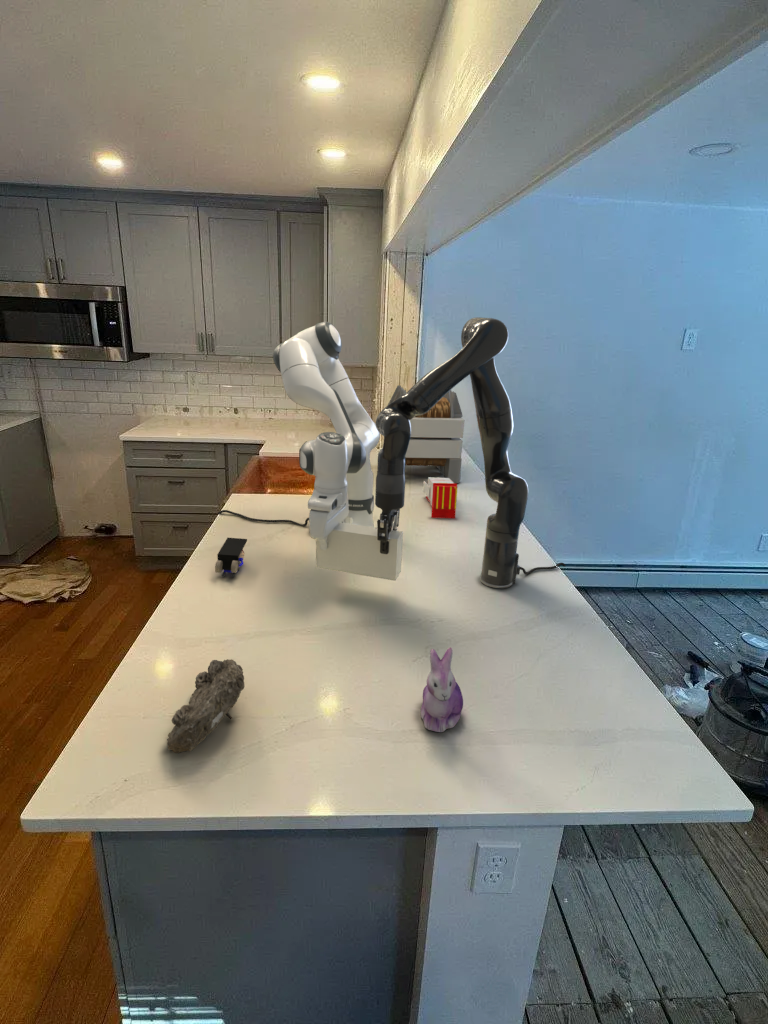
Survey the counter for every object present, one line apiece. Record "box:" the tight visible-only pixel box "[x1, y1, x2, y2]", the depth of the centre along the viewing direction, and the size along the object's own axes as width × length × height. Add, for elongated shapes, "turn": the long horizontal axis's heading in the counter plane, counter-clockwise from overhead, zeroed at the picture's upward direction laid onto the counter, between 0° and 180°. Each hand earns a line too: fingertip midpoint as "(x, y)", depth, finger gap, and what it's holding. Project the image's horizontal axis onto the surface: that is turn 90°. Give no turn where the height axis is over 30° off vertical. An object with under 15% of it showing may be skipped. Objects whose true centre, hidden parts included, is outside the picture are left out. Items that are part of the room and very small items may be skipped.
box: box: [315, 522, 404, 582], centre depth 153 cm, size 23×6×12 cm, turn 74°
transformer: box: [386, 384, 465, 484], centre depth 268 cm, size 34×33×41 cm
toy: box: [422, 476, 458, 519], centre depth 227 cm, size 12×13×30 cm
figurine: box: [420, 647, 464, 733], centre depth 108 cm, size 9×10×15 cm
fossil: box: [166, 658, 245, 754], centre depth 106 cm, size 22×10×15 cm
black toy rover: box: [214, 537, 248, 578], centre depth 166 cm, size 7×8×15 cm
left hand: (330, 542), depth 155 cm, fingers open, 8 cm apart
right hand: (387, 548), depth 151 cm, fingers closed on box, 6 cm apart
